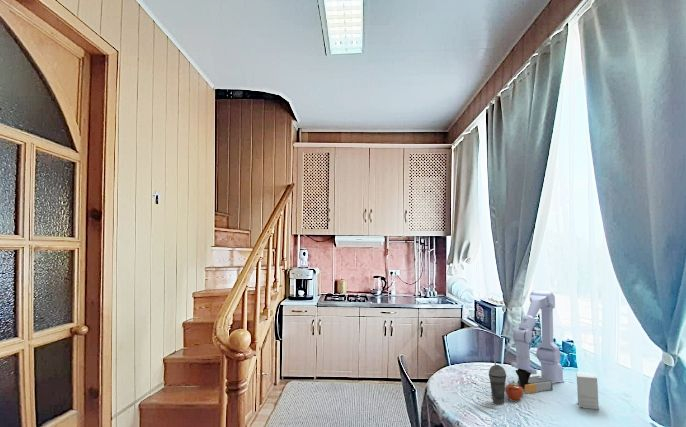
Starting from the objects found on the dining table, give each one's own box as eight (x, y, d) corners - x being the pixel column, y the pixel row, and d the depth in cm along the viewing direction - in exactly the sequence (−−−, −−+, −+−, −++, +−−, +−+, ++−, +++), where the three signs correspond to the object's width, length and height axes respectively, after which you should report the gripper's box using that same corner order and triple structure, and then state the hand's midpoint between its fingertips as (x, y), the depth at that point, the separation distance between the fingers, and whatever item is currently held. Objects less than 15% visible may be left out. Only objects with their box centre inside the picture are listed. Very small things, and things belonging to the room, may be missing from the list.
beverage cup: (505, 406, 187) (503, 357, 188) (487, 403, 191) (485, 355, 192) (509, 401, 193) (507, 353, 195) (491, 398, 197) (490, 351, 198)
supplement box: (597, 404, 189) (595, 373, 190) (599, 410, 182) (597, 378, 183) (577, 401, 192) (576, 371, 193) (578, 407, 185) (577, 376, 186)
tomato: (505, 401, 194) (504, 382, 194) (505, 395, 201) (504, 377, 201) (523, 403, 191) (523, 383, 192) (523, 397, 198) (522, 378, 199)
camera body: (539, 384, 216) (538, 374, 216) (552, 389, 208) (551, 379, 209) (516, 387, 212) (516, 377, 212) (528, 392, 204) (528, 382, 205)
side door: (551, 388, 208) (551, 381, 208) (553, 389, 207) (552, 381, 207) (524, 392, 203) (524, 384, 203) (526, 393, 202) (526, 385, 202)
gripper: (505, 353, 212) (506, 382, 211) (526, 360, 199) (528, 392, 198) (517, 352, 215) (518, 381, 214) (539, 359, 201) (541, 390, 200)
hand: (524, 386), depth 206 cm, fingers closed
